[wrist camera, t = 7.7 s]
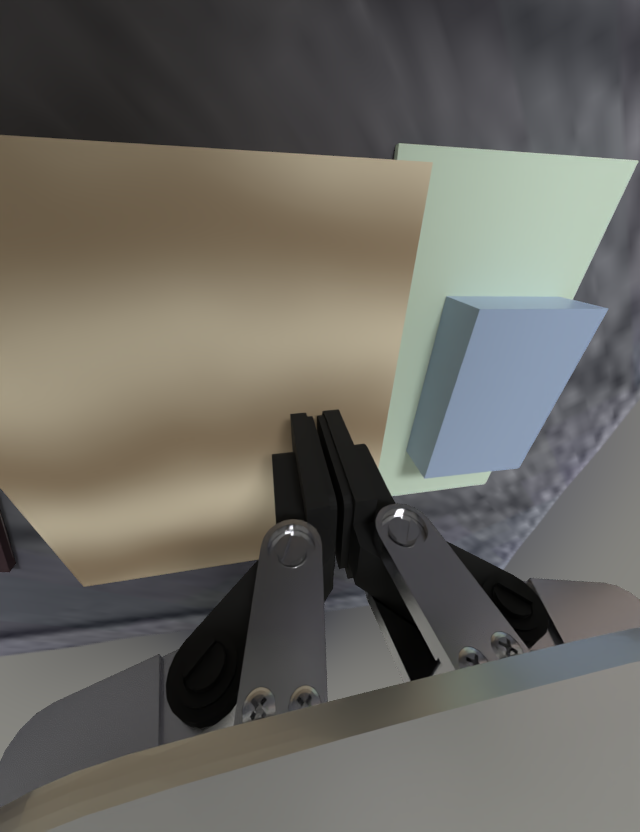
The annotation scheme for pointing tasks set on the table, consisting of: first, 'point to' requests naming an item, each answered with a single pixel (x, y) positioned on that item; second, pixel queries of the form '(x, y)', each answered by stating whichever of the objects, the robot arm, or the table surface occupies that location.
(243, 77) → the table surface
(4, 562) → the chocolate bar
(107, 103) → the table surface
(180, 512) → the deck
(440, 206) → the mat
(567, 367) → the blue-grey foam block
